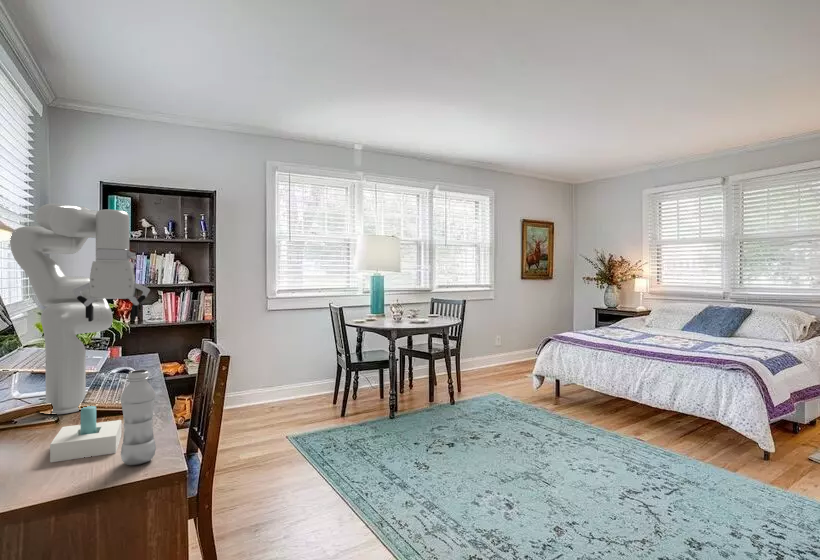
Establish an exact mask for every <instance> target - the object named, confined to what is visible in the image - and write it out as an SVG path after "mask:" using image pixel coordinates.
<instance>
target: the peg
mask: <svg viewBox="0 0 820 560" xmlns="http://www.w3.org/2000/svg"><path fill="white" fill-rule="evenodd" d="M96 423H97V406H96V405H91V406H87V407H83V408H81V411H80V425H81V435H85V434H93V433H96Z"/></svg>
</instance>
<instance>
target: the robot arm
mask: <svg viewBox="0 0 820 560" xmlns="http://www.w3.org/2000/svg"><path fill="white" fill-rule="evenodd" d="M35 219H36V222H37V223H38V226H37V225H35V226H34V225H30V226H29V225H28V226H20V227H17V228H15V229H14V230H13V231H12V232H13V233H12V232H11V234H12V236H11V235H10V236H11V238H9V246H10V250H11V253H12V256H13V259H14V260H15V262H16V263H17V265H18V266H19V267H20V269H22V270H23V271H24V273H25V274H26V275H27V278H28V280H29V282H30V285H31V287H32V289H33V291H34V293H35V296H36V298H37V299H38V302H39V303H40V304H41V305H42V306H44V307H45V308H44V310H42V312H41V316H40V319H41V325H42V331H43V335H44V336H43V337H44V344H45V345H44V347H45V351H44V352H45V404H46V403H51V404H52V405H53V411H52V413H56V414H57V415H65V414H71V413H76V412H80V411H79V408H78V406H79V404H80V403H81V401H82V400H83V399H84V397H85V395H86V392H87V391H86V390H87V389H86V386H87V383H86V379H87V377H86V375H87V374H86V373H87V372H86V371H87V370H86V368H87V367H86V366H87V365H86V363H87V362H86V358H87V356H86V355H87V354H86V353H87V352H86V347H85V344H84V343H83V342H82V341H81V340H80V339H79V338H78V337H77V335H80V334H88V333H90V334H91V333H98V332H103V331H104V332H105V331H106V330H108V329H109V328H110V327H111V326H112V324H113V321H114V320H113V319H114V318H113V311H112V309H111V306H110V304H109V302H108V300H113V299H115V300H117V299H119V300H120V299H123V300H126V299H128V300H129V301H130V302H131V303H132V305H131V321H135V320H137V319H136V317H137V318H138V317H139V305H140V304H141V303H142V302H143V301H145V299H146V298H147V297H148V294H149V293H150V292H151V289H150V288H148V287H147V286H143V285H141V284H139V283H137V282H136V274H135V267H134V263H133V261H130V259H134V258H136V252H132V251H130V216H129V213H128V212H126V211H123V210H119V209H110V208H109V209H100V210H92V209H90V208H88V207H85V206H80V205H72V204H63V203H47V204H44V205H41V206H40V207H39V208H38V209H37V210H36V213H35ZM15 231H16V232H15ZM89 238H91V239H93V238H94V239H95V261H92V263H91V268H90V273H89V276H68V275H66V274H65V273H64V270H63V269H62V267H61V265H59V263H57V261H55V260H53V259H52V258H51V257H49V256H47V255H45V254H49V255H74V254H77V253H79V251H80V250H81V249H82V248H83V246H84V245H85V243H86V242H87V241H88V239H89ZM10 239H11V240H10ZM136 289H137V290H140V291H141V292H142V293H141V295H140V296H139V297H138V298H137V297H136V296H135V295H136Z"/></svg>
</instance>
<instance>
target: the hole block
mask: <svg viewBox="0 0 820 560" xmlns="http://www.w3.org/2000/svg"><path fill="white" fill-rule="evenodd" d="M122 421H123V419H117V420H111V421H110V420H109V421H100V422H96V433H93V434H85V435H81V424H75V425H67V426H62V427H61V428H60V430H59V431H58V433H57V434H56V435H55V437H54V438H53V440H51V442H50V443H49V463H55V462H56V463H57V462H63V461H70V460H76V459H82V458H83V459H84V457H85V458H89V457H91V456H92V457H97V456H104V455H111V454H116V453H117V451H118V447H119V445H120V442H121V438H122V434H123V433H122V428H123V427H122V424H123V423H122Z"/></svg>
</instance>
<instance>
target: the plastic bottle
mask: <svg viewBox="0 0 820 560" xmlns="http://www.w3.org/2000/svg"><path fill="white" fill-rule="evenodd" d="M149 378H150V375H149V370H148V369H136V370H131V371H129V372H128V378H127V381H128V383H129V384H128V385H127V386H126V387H125V388H124V390H123V392H121V395H120V404H121V411H122V414H123V415H122V416H123V418H122V419H123V422H124V423H123V438H122V444H121V449H120V450H121V451H120V458H121V462H122V463H124V465H126V466H135V465H136V466H139V465H141V464H145V463H147V462H150V461H151V460H152V459H153V458H154V456H155V454H156V450H157V445H156V440H155V434H154V426H153V416H154V407H155V400H156V392H155V389H154V388H153V386H152V385H151V383H149V382H148V381H149Z"/></svg>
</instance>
